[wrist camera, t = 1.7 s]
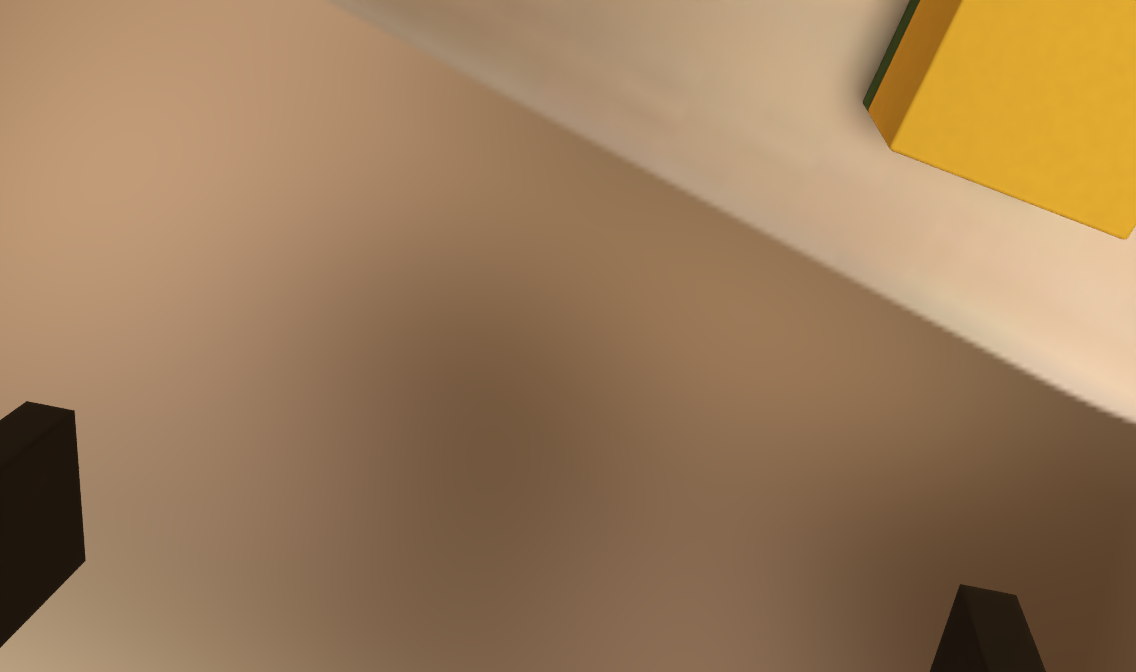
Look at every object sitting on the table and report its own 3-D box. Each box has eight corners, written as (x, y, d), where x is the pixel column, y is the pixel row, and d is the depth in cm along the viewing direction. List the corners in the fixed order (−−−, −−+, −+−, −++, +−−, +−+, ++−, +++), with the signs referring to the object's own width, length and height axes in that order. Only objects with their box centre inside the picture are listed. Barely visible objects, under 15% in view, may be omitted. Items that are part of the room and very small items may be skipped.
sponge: (1057, 178, 27) (1127, 241, 22) (861, 103, 28) (888, 149, 22) (1236, -138, 24) (1366, -146, 19) (1015, -223, 24) (1086, -253, 19)
